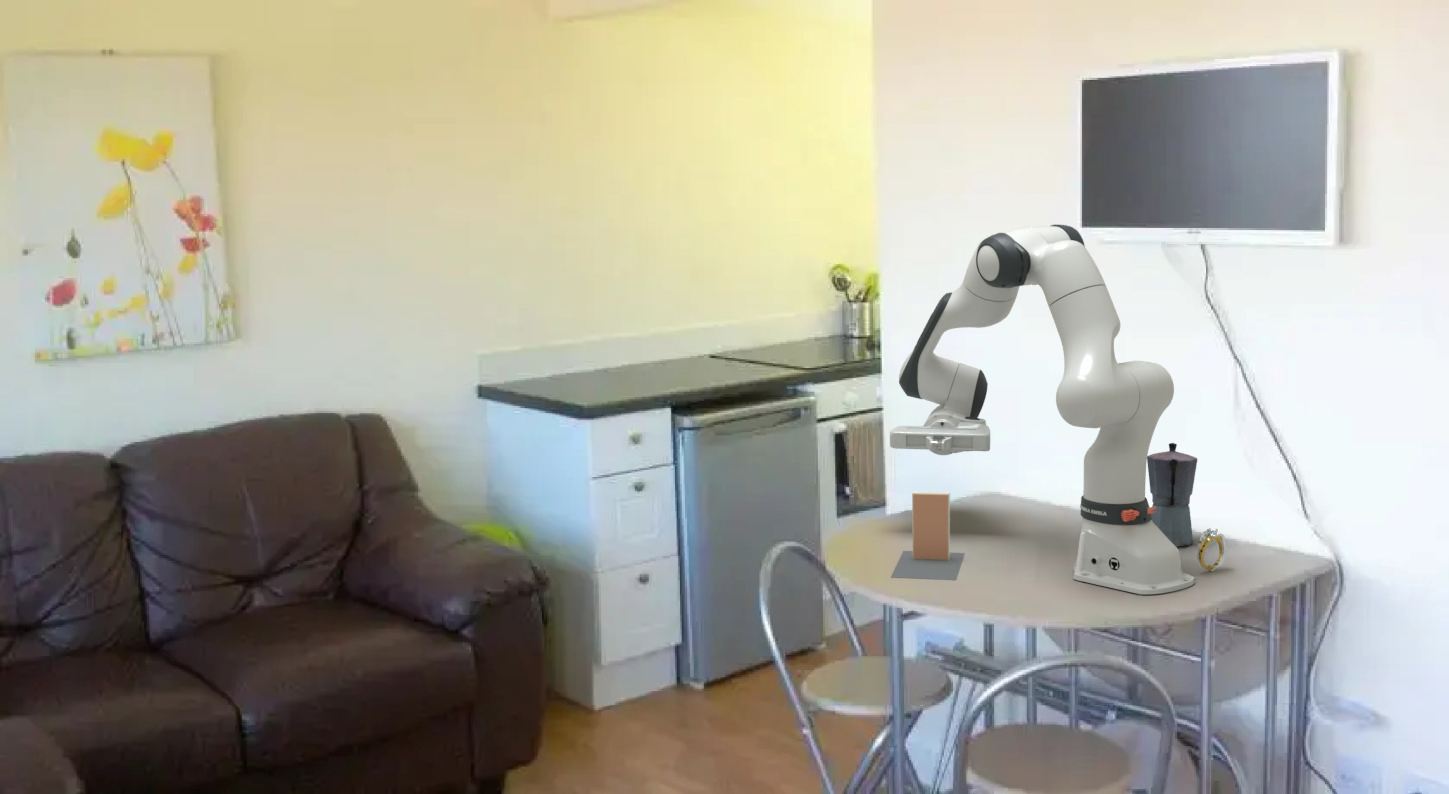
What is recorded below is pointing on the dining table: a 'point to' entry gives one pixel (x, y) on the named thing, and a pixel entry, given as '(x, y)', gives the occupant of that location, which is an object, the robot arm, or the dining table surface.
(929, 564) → the mat
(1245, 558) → the dining table surface
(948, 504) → the tile
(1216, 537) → the ring
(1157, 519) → the moka pot
